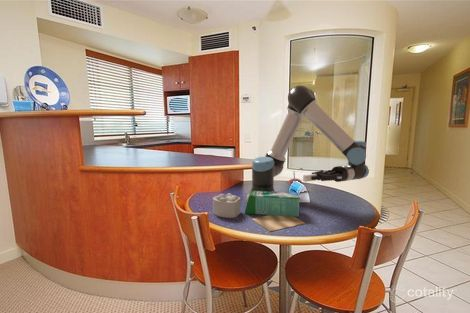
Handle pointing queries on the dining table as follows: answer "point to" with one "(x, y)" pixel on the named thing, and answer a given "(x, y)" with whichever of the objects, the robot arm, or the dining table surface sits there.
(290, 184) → the cupcake
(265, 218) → the wooden mat
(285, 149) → the robot arm
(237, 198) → the lumpy-topped squat cylinder
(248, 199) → the milk carton
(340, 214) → the dining table surface
